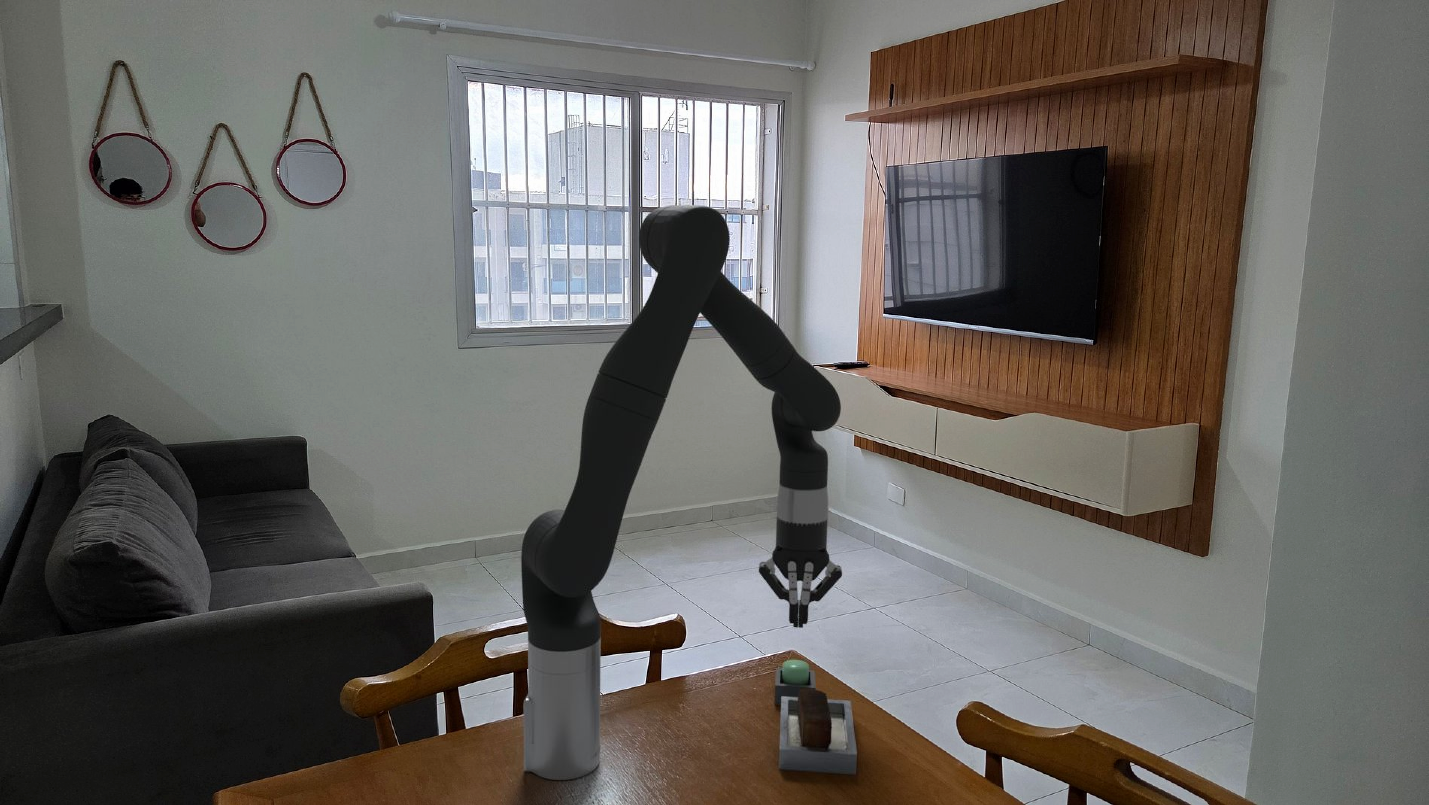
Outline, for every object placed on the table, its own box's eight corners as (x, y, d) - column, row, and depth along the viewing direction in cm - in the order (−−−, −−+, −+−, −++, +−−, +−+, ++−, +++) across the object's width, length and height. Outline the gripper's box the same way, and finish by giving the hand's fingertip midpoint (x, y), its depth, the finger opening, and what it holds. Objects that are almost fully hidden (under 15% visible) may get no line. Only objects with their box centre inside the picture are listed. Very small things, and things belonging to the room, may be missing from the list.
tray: (778, 769, 123) (779, 749, 123) (780, 714, 138) (781, 696, 138) (855, 774, 122) (857, 754, 122) (849, 718, 137) (850, 700, 137)
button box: (774, 704, 141) (775, 685, 141) (775, 686, 147) (776, 668, 146) (814, 706, 141) (815, 687, 140) (813, 688, 146) (814, 670, 146)
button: (781, 685, 142) (782, 670, 141) (782, 674, 145) (782, 658, 145) (808, 687, 141) (809, 671, 141) (808, 675, 145) (808, 660, 145)
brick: (831, 754, 125) (833, 721, 124) (801, 753, 125) (802, 720, 124) (824, 716, 135) (825, 685, 135) (796, 715, 135) (798, 684, 135)
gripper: (756, 519, 136) (753, 633, 139) (848, 523, 135) (843, 638, 138) (758, 505, 143) (755, 614, 146) (846, 509, 142) (841, 618, 145)
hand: (798, 625), depth 142 cm, fingers closed
